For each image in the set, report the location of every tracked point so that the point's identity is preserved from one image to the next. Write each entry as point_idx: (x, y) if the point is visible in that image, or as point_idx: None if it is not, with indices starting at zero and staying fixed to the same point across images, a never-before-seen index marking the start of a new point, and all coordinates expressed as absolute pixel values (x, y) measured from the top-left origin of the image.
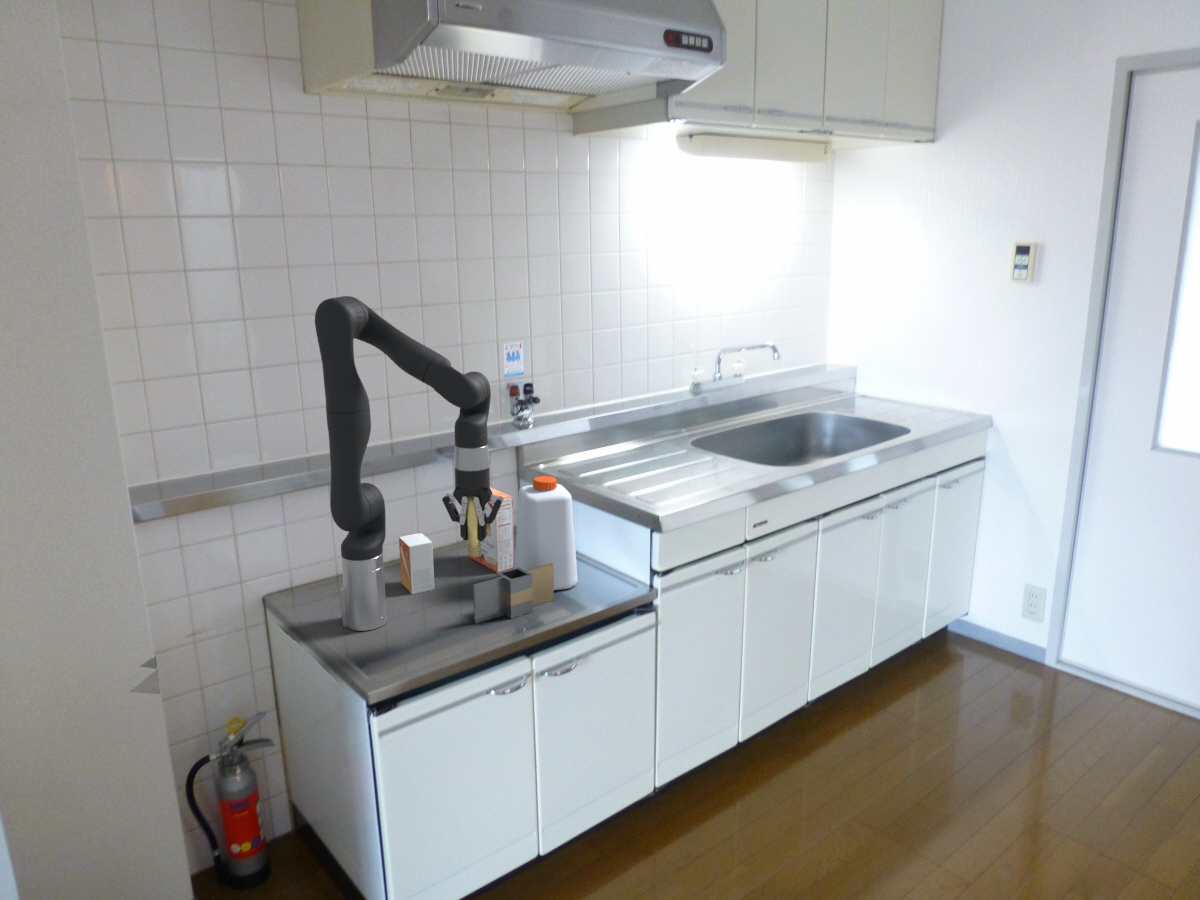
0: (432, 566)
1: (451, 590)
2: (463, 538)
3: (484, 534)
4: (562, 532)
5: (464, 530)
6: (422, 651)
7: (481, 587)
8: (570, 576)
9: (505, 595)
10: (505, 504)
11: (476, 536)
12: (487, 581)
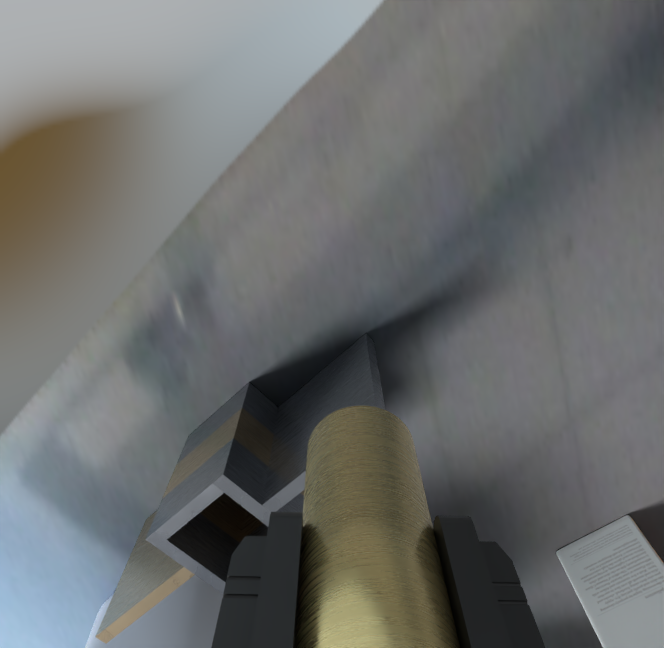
0: (595, 622)
1: None
2: (470, 527)
3: (238, 578)
4: None
5: (478, 603)
6: (528, 85)
7: None
8: (97, 627)
9: (265, 449)
10: None
11: (326, 545)
12: None
